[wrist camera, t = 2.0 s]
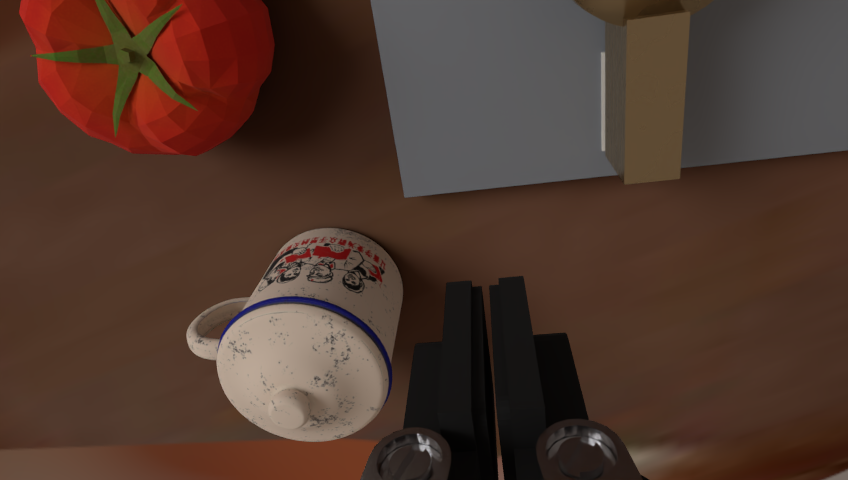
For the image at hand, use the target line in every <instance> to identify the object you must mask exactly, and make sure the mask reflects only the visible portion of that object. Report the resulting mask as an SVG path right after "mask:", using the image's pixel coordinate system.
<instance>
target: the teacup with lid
mask: <svg viewBox="0 0 848 480" xmlns="http://www.w3.org/2000/svg"><path fill="white" fill-rule="evenodd" d="M402 300H403V284H402V279H401V276H400V273H399V271H398V268H397V266H396V265H395V263H394V261H393V260H392V258H391V257H390V256H389V255H388V254H387V252H386V251H385V250H384V249H383V248H382V247H380V246H379V245H378V244H377V243H375V242H374V241H372V240H371V239H369V238H367V237H365V236H363V235H361V234H359V233H356V232H353V231H349V230H345V229H339V228H321V229H315V230H310V231H307V232H304V233H302V234H300V235H298V236H296V237H294V238H293V239H291V240H290V241H289V242H287V243H286V244H285V245H284V246H283V247H282V248H281V250H280V251H279V252H278V254H277V255H276V257H275V258H274V260H273V261H272V263H271V265H270V266H269V268H268V270H267V271H266V273H265V274H264V276H263V278H262V279H261V281H260V282H259V284H258V286H257V287H256V289H255V291H254V292H253V294H252V295H251V297H245V298H236V299H231V300H227V301H224V302H221V303H219V304H216V305H214V306H212V307H211V308H209V309H207V310H206V311H204V312H203V313H201V314H200V315H199V316H198V317H197V318H196V319H195V320H194V321H193V322H192V323H191V324H190V326H189V328H188V330H187V341H188V345H189V347H190V349H191V350H192V352H193V353H195V354H196V355H197V356H199V357H202V358H205V359H210V360H217V370H218V376H219V379H220V383H221V385H222V388H223V390H224V392H225V394H226V396H227V397H228V399H229V400H230V402H231V403H232V404H233V405H234V407H235V408H236V409H237V410H238V411H239V412H240V413H241V414H242V415H243V416H245V417H246V418H247V419H248V420H250V421H251V422H252V423H254V424H255V425H257V426H259V427H260V428H262V429H264V430H266V431H268V432H270V433H273V434H275V435H278V436H281V437H285V438H288V439H293V440H298V441H308V442H320V441H329V440H335V439H339V438H342V437H346V436H348V435H350V434H353V433H355V432H357V431H358V430H360V429H361V428H363V427H364V426H366V425H367V424H368V423H369V422H371V421H372V420H373V419H374V418H375V417H376V415H377V414H378V413H379V412H380V410H381V409H382V407H383V406H384V404H385V403H386V401H387V399H388V396H389V394H390V390H391V385H392V367H391V360H392V354H393V349H394V344H395V338H396V333H397V327H398V322H399V316H400V311H401V306H402ZM231 319H232V320H231ZM228 320H231V321H230V322H229V324H228V325H227V327H226V328H225V330H224V332H223V333H222V335H221V338H220V339H213V338H207V337H205V336H206V335H207V334H208V333H209V332H210V331H211V330H212V329H214V328H215V327H217V326H218V325H220V324H222V323H224V322H226V321H228Z"/></svg>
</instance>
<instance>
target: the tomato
mask: <svg viewBox="0 0 848 480" xmlns="http://www.w3.org/2000/svg"><path fill="white" fill-rule="evenodd" d="M19 14H20V16H21V18H22V20H23V22H24V24H25V26H26V28H27V30H28V32H29V34H30V36H31V39H32V41H33V43H34V45H35V47H36V55H30V56H33V57H37V67H38V79H39V84H40V85H41V87H42V88H43V89H44V91H45V92H46V93H47V95H48V96H49V97H50V99H51V100H52V101H53V103H54V104H55V105H56V107H57V108H58V109H59V111H60V112H61V113H62V114H63V115H64V116H65V117H67V118H68V119H69V120H70V121H72V122H73V123H74V124H75V125H77V126H78V127H79V128H80V129H82V130H83V131H84V132H85V133H87V134H88V135H89V136H92V137H95V138H98V139H101V140H104V141H107V142H110V143H112V144H114V145H116V146H118V147H121V148H123V149H125V150H127V151H129V152H131V153H136V154H170V155H179V154H183V155H192V156H197V155H199V154H202V153H204V152H207V151H209V150H210V149H212V148H214V147H215V146H217V145H219V144H221V143H222V142H224V141H226V140H227V139H229V138H231V137H232V136H233V135H234V134H235V133H236V132H237V130H238V129H239V128H240V127H241V126H242V125H243V124H244V123H245V122H246V121H247V120H248V118H249V117H250V116H251V114H252V113H253V112H254V108H255V105H256V101H257V98H258V94H259V90H260V87H261V85H262V84H263V82H264V81H265V80H266V78H267V77H268V76H269V74H270V73H271V70H272V62H273V55H274V47H275V43H274V38H273V33H272V28H271V22H270V17H269V12H268V8H267V6H266V5H265V4H264V3H263V1H262V0H21V5H20V11H19Z"/></svg>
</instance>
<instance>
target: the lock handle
mask: <svg viewBox="0 0 848 480" xmlns="http://www.w3.org/2000/svg"><path fill="white" fill-rule="evenodd" d="M572 1H573V2H574V3H575V4H577V5H578V6H579V7H581V8H582V9H583V10H585V11H586V12H588V13H590V14H592V15H593V16H595V17H597V18H599V19H601V20H603V21H605V156H606V158H607V159H608V161H609V162H610V164H611V165H612V167H613V168H614V170H615V171H616V173H617V174H618V176H619V177H620V179H621V180H622V182H623V183H624V185H625V184H635V183H645V182H654V181H664V180H673V179H680V169H681V153H682V138H683V122H684V106H685V90H686V75H687V59H688V43H689V28H690V15H693V14H694V13H696V12H698V11H699V10H701V9H703V8H704V7H706V6H707V5H708V4H710V3H711V2H712V1H714V0H572Z"/></svg>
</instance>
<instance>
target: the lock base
mask: <svg viewBox="0 0 848 480" xmlns="http://www.w3.org/2000/svg"><path fill="white" fill-rule="evenodd" d="M371 6H372V11H373V17H374V23H375V29H376V35H377V40H378V46H379V52H380V58H381V64H382V69H383V75H384V81H385V87H386V92H387V98H388V104H389V110H390V116H391V121H392V127H393V133H394V139H395V145H396V150H397V156H398V162H399V168H400V174H401V179H402V185H403V191H404V197H405V198H406V197H415V196H425V195H434V194H443V193H453V192H462V191H471V190H481V189H490V188H499V187H509V186H518V185H527V184H537V183H546V182H555V181H565V180H574V179H583V178H593V177H602V176H611V175H618V174H617V173H616V171H615V170H614V168H613V167H612V165H611V164H610V162H609V161H608V159H607V158H606V156H605V21H603V20H601V19H599V18H597V17H595V16H593V15H592V14H590V13H588V12H586V11H585V10H583V9H582V8H581V7H579V6H578V5H577V4H575V3H574V2H573V1H572V0H371ZM845 150H848V0H714V1H712V2H711V3H710V4H708V5H707V6H706V7H704V8H703V9H701V10H699V11H698V12H696V13H694V14H693V15H690V28H689V43H688V59H687V75H686V90H685V106H684V122H683V138H682V153H681V168H686V167H695V166H705V165H714V164H723V163H733V162H742V161H751V160H761V159H770V158H779V157H789V156H798V155H808V154H817V153H826V152H836V151H845Z"/></svg>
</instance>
